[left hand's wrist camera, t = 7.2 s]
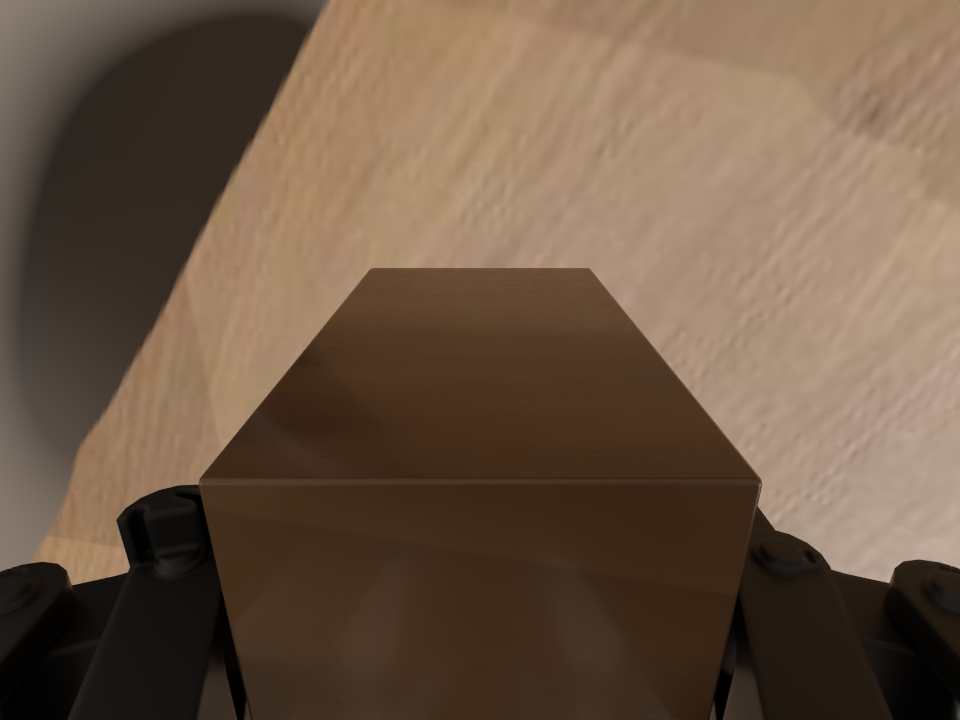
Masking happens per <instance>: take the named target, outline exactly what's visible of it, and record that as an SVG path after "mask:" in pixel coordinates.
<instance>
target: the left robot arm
mask: <svg viewBox="0 0 960 720" xmlns="http://www.w3.org/2000/svg"><path fill="white" fill-rule="evenodd" d="M117 524H118V527H119V531H120V534H121V537H122V541H123V544H124V547H125V551H126V554H127V558H128V561H129V564H130V569H129V571H128V573H124V574H121V575H117V576H113V577H109V578H104V579H100V580H95V581H90V582H86V583H81V584H77V585H71V582H70V579H69V576H68V573H67V571H66V570H65V569H64V568H62V567H61V566H60V565H59V564H55V563H47V562H38V563H31V564H24V565H20V566H17V567H13V568H11V569H7V570H4V571H1V572H0V720H251V718H250V713H249V709H248V704H247V700H246V695H245V691H244V686H243V682H242V677H241V673H240V668H239V664H238V659H237V655H236V650H235V646H234V642H233V637H232V633H231V628H230V624H229V619H228V615H227V610H226V606H225V601H224V597H223V592H222V588H221V583H220V579H219V574H218V570H217V565H216V561H215V556H214V552H213V547H212V543H211V538H210V534H209V529H208V525H207V520H206V516H205V511H204V507H203V502H202V498H201V493H200V489H199V485H181V486H175V487H171V488H166V489H162V490H159V491H156V492H154V493H152V494H149V495H147V496H145V497H142V498H140V499H139V500H137V501H136V502H134V503H133V504H131V505H130V506H129V507H127V508H126V509H125V510H124V511H123V512H122V514H121V515H120V516H119V517H118V518H117ZM710 720H960V569H958V568H956V567H952V566H950V565H946V564H943V563H940V562H933V561H926V560H912V561H904V562H902V563H901V564H900V565H898V566H897V567H896V568H895V569H894V572H893V575H892V578H891V581H890V583H885V582H881V581H876V580H872V579H867V578H862V577H858V576H853V575H849V574H844V573H841V572H837V571H834V570H831V568H830V566H829V564H828V563H827V562H826V560H825V559H824V557H823V556H822V554H821V553H819V552H818V551H817V550H815V549H814V548H813V547H812V546H810V545H809V544H808V543H806V542H804V541H802V540H800V539H798V538H796V537H794V536H792V535H790V534H787V533H783V532H779V531H776V530H775V529H774V528H773V526H772V525H771V524H770V522H769V521H768V520H767V518H766V517H765V516H764V514H763V513H762V512H761V510H760V509H759V508H758V506H757V510H756V514H755V519H754V523H753V528H752V532H751V537H750V541H749V546H748V550H747V555H746V559H745V564H744V568H743V572H742V577H741V581H740V586H739V590H738V595H737V599H736V604H735V608H734V613H733V617H732V622H731V626H730V631H729V635H728V640H727V644H726V649H725V653H724V657H723V662H722V666H721V671H720V675H719V680H718V684H717V689H716V693H715V698H714V702H713V707H712V711H711V716H710Z"/></svg>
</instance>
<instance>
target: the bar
mask: <svg viewBox="0 0 960 720" xmlns="http://www.w3.org/2000/svg"><path fill="white" fill-rule="evenodd" d="M761 487H762V482H761V479H760V477H759V476H758V475H757V474H756V472H755V471H754V470H753V469H752V467H751V466H750V465H749V464H748V463H747V461H746V460H745V459H744V458H743V456H742V455H741V454H740V453H739V451H738V450H737V449H736V448H735V447H734V445H733V444H732V443H731V442H730V440H729V439H728V438H727V437H726V436H725V434H724V433H723V432H722V431H721V429H720V428H719V427H718V426H717V424H716V423H715V422H714V421H713V420H712V418H711V417H710V416H709V415H708V413H707V412H706V411H705V410H704V408H703V407H702V406H701V405H700V404H699V402H698V401H697V400H696V399H695V397H694V396H693V395H692V394H691V393H690V391H689V390H688V389H687V388H686V386H685V385H684V384H683V383H682V381H681V380H680V379H679V378H678V377H677V375H676V374H675V373H674V372H673V370H672V369H671V368H670V367H669V365H668V364H667V363H666V362H665V361H664V359H663V358H662V357H661V356H660V354H659V353H658V352H657V351H656V349H655V348H654V347H653V346H652V345H651V343H650V342H649V341H648V340H647V338H646V337H645V336H644V335H643V334H642V332H641V331H640V330H639V329H638V327H637V326H636V325H635V324H634V322H633V321H632V320H631V319H630V318H629V316H628V315H627V314H626V313H625V311H624V310H623V309H622V308H621V306H620V305H619V304H618V303H617V302H616V300H615V299H614V298H613V297H612V295H611V294H610V293H609V292H608V291H607V289H606V288H605V287H604V286H603V284H602V283H601V282H600V281H599V279H598V278H597V277H596V276H595V275H594V273H593V272H592V271H591V270H590V269H589V268H372V269H370V270H369V271H368V273H367V274H366V275H365V276H364V278H363V279H362V280H361V281H360V282H359V284H358V285H357V286H356V287H355V289H354V290H353V291H352V292H351V294H350V295H349V296H348V297H347V298H346V300H345V301H344V302H343V303H342V305H341V306H340V307H339V308H338V309H337V311H336V312H335V313H334V314H333V316H332V317H331V318H330V319H329V321H328V322H327V323H326V324H325V325H324V327H323V328H322V329H321V330H320V332H319V333H318V334H317V335H316V337H315V338H314V339H313V340H312V341H311V343H310V344H309V345H308V346H307V348H306V349H305V350H304V351H303V353H302V354H301V355H300V356H299V357H298V359H297V360H296V361H295V362H294V364H293V365H292V366H291V367H290V369H289V370H288V371H287V372H286V373H285V375H284V376H283V377H282V378H281V380H280V381H279V382H278V383H277V385H276V386H275V387H274V388H273V389H272V391H271V392H270V393H269V394H268V396H267V397H266V398H265V399H264V400H263V402H262V403H261V404H260V405H259V407H258V408H257V409H256V410H255V412H254V413H253V414H252V415H251V416H250V418H249V419H248V420H247V421H246V423H245V424H244V425H243V426H242V428H241V429H240V430H239V431H238V432H237V434H236V435H235V436H234V437H233V439H232V440H231V441H230V442H229V444H228V445H227V446H226V447H225V448H224V450H223V451H222V452H221V453H220V455H219V456H218V457H217V458H216V460H215V461H214V462H213V463H212V464H211V466H210V467H209V468H208V469H207V471H206V472H205V473H204V474H203V475H202V477H201V478H200V480H199V489H200V493H201V498H202V502H203V507H204V511H205V516H206V520H207V525H208V529H209V534H210V538H211V543H212V547H213V552H214V556H215V561H216V565H217V570H218V574H219V579H220V583H221V588H222V592H223V597H224V601H225V606H226V610H227V615H228V619H229V624H230V628H231V633H232V637H233V642H234V646H235V650H236V655H237V659H238V664H239V668H240V673H241V677H242V682H243V686H244V691H245V695H246V700H247V704H248V709H249V713H250V718H251V720H710V716H711V711H712V707H713V702H714V698H715V693H716V689H717V684H718V680H719V675H720V671H721V666H722V662H723V657H724V653H725V649H726V644H727V640H728V635H729V631H730V626H731V622H732V617H733V613H734V608H735V604H736V599H737V595H738V590H739V586H740V581H741V577H742V572H743V568H744V564H745V559H746V555H747V550H748V546H749V541H750V537H751V532H752V528H753V523H754V519H755V514H756V510H757V505H758V501H759V496H760V492H761Z"/></svg>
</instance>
